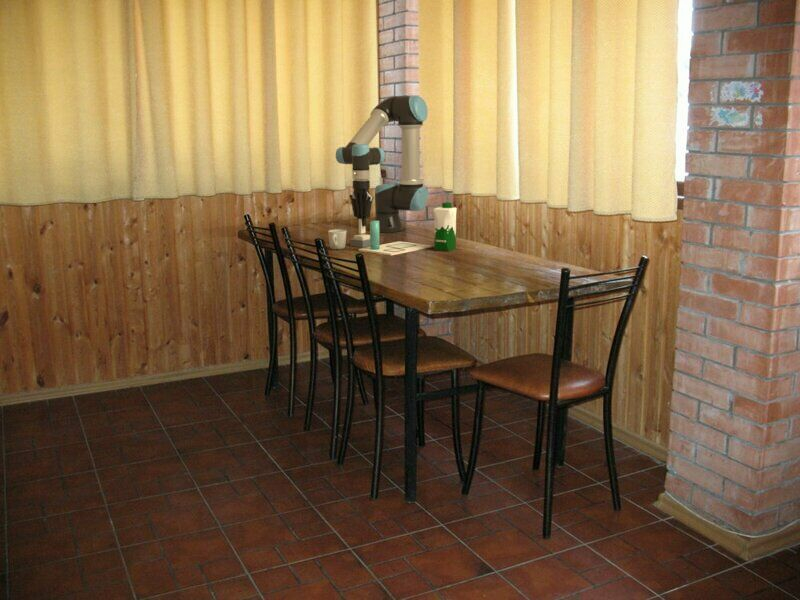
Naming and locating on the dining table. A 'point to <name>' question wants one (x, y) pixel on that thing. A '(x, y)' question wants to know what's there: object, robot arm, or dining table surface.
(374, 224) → the teal cylinder
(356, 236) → the button
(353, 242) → the button housing
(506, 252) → the dining table surface
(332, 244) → the cup
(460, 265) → the dining table surface
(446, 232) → the milk carton
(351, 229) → the dining table surface
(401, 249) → the picture board
